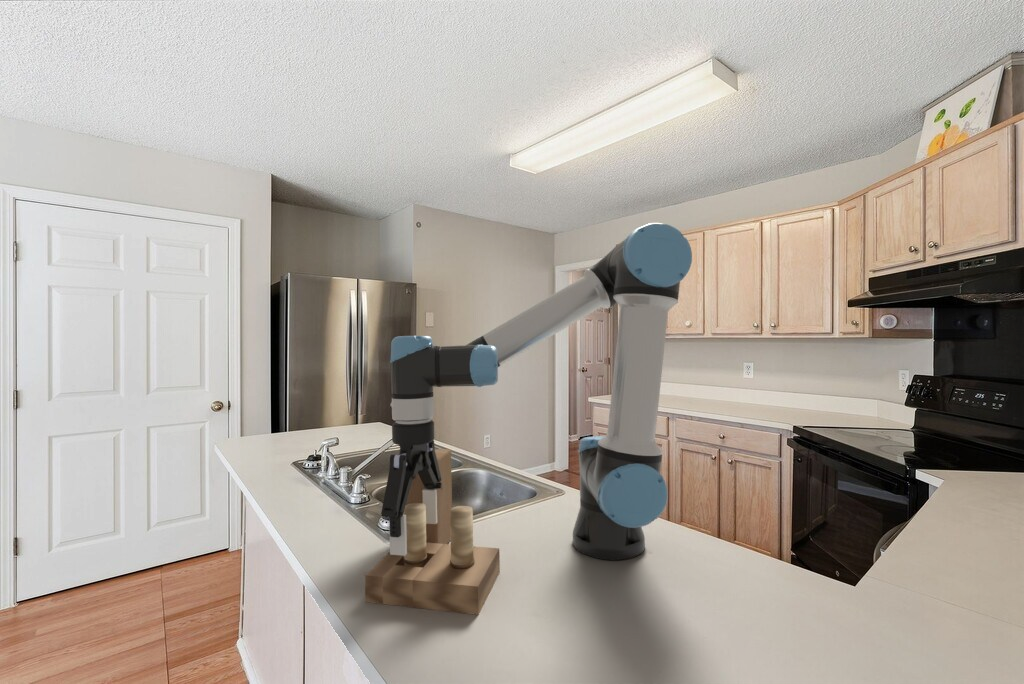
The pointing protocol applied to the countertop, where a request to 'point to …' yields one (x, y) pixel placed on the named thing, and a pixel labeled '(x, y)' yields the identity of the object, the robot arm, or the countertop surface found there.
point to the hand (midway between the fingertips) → (415, 537)
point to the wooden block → (444, 499)
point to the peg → (415, 535)
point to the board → (439, 573)
